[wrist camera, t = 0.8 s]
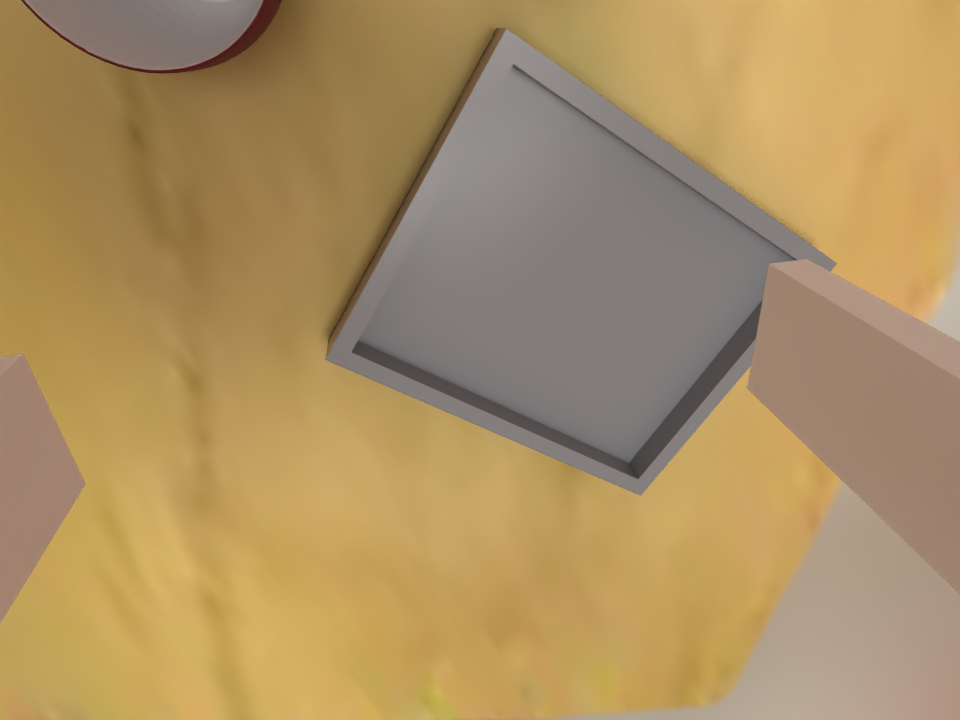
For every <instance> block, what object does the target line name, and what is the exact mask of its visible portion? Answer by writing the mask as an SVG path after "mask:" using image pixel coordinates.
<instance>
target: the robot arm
mask: <svg viewBox="0 0 960 720" xmlns="http://www.w3.org/2000/svg"><path fill="white" fill-rule="evenodd" d="M747 389H748V390H749V391H750V392H751V393H752V394H753V395H754V396H755V397H756V398H757V399H759V400H760V401H761V402H762V403H763V404H764V405H765V406H766V407H767V408H768V409H769V410H770V411H771V412H772V413H773V414H774V415H775V416H776V417H777V418H778V419H779V420H780V421H781V422H782V423H783V424H784V425H785V426H786V427H787V428H788V429H790V430H791V431H792V432H793V433H794V434H795V435H796V436H797V437H798V438H799V439H800V440H801V441H802V442H803V443H804V444H805V445H806V446H807V447H808V448H809V449H810V450H811V451H812V452H813V453H814V454H815V455H816V456H817V457H818V458H819V459H821V460H822V461H823V462H824V463H825V464H826V465H827V466H828V467H829V468H830V469H831V470H832V471H833V472H834V473H835V474H836V475H837V476H838V477H839V478H840V479H841V480H842V481H843V482H844V483H845V484H846V485H847V486H849V487H850V488H851V489H852V490H853V491H854V492H855V493H856V494H857V495H858V496H859V497H860V498H861V499H862V500H863V501H864V502H865V503H866V504H867V505H868V506H869V507H870V508H871V509H872V510H873V511H874V512H875V513H876V514H877V515H878V516H879V517H881V519H883V520H884V521H885V522H886V523H887V524H888V525H889V526H890V527H891V528H892V529H893V530H894V531H895V532H896V533H897V534H898V535H899V536H900V537H901V538H902V539H903V540H904V541H905V542H906V543H907V544H908V545H909V546H910V547H911V548H913V549H914V550H915V551H916V552H917V553H918V554H919V555H920V556H921V557H922V558H923V559H924V560H925V561H926V562H927V563H928V564H929V565H930V566H931V567H932V568H933V569H934V570H935V571H936V572H937V573H938V574H939V575H940V576H941V577H942V578H943V579H945V580H946V581H947V582H948V583H949V584H950V585H951V586H952V587H953V588H954V589H955V590H956V591H957V592H958V593H959V594H960V342H959V341H957V340H955V339H954V338H952V337H950V336H948V335H946V334H944V333H942V332H941V331H939V330H937V329H935V328H933V327H931V326H930V325H928V324H926V323H924V322H922V321H920V320H919V319H917V318H915V317H913V316H911V315H909V314H907V313H906V312H904V311H902V310H900V309H898V308H896V307H894V306H893V305H891V304H889V303H887V302H885V301H883V300H882V299H880V298H878V297H876V296H874V295H872V294H870V293H869V292H867V291H865V290H863V289H861V288H859V287H858V286H856V285H854V284H852V283H850V282H848V281H846V280H845V279H843V278H841V277H839V276H837V275H835V274H834V273H832V272H830V271H828V270H826V269H824V268H822V267H821V266H819V265H817V264H815V263H813V262H811V261H809V260H808V259H804V260H795V261H787V262H779V263H771V264H769V266H768V272H767V278H766V283H765V289H764V295H763V301H762V306H761V312H760V318H759V324H758V329H757V335H756V341H755V347H754V352H753V358H752V364H751V370H750V375H749V381H748V387H747ZM85 484H86V483H85V481H84V479H83V477H82V475H81V473H80V471H79V469H78V467H77V465H76V463H75V461H74V458H73V456H72V454H71V452H70V450H69V448H68V446H67V444H66V442H65V440H64V438H63V436H62V433H61V431H60V429H59V427H58V425H57V423H56V421H55V419H54V417H53V415H52V413H51V411H50V409H49V406H48V404H47V402H46V400H45V398H44V396H43V394H42V392H41V390H40V388H39V386H38V384H37V381H36V379H35V377H34V375H33V373H32V371H31V369H30V367H29V365H28V363H27V361H26V359H25V357H24V354H21V355H13V356H4V357H0V623H1V622H2V620H3V618H4V617H5V615H6V613H7V612H8V610H9V608H10V607H11V605H12V604H13V602H14V600H15V599H16V597H17V595H18V594H19V592H20V590H21V589H22V587H23V586H24V584H25V582H26V581H27V579H28V577H29V576H30V574H31V572H32V571H33V569H34V567H35V566H36V564H37V563H38V561H39V559H40V558H41V556H42V554H43V553H44V551H45V549H46V548H47V546H48V545H49V543H50V541H51V540H52V538H53V536H54V535H55V533H56V531H57V530H58V528H59V527H60V525H61V523H62V522H63V520H64V518H65V517H66V515H67V513H68V512H69V510H70V509H71V507H72V505H73V504H74V502H75V500H76V499H77V497H78V495H79V494H80V492H81V491H82V489H83V487H84V486H85Z"/></svg>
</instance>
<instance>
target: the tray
mask: <svg viewBox="0 0 960 720" xmlns="http://www.w3.org/2000/svg"><path fill="white" fill-rule="evenodd" d="M804 259H808V260H809V261H811V262H813V263H815V264H817V265H819V266H821V267H822V268H824V269H826V270H828V271H831V270H832V269H833V268H834V267H835V265H836V264H837V263H836V262H834V261H833V260H832V259H830V258H829V257H827V256H826V255H825V254H823V253H822V252H820V251H819V250H817V249H816V248H815V247H813V246H812V245H810V244H809V243H808V242H806V241H805V240H803V239H802V238H801V237H799V236H798V235H796V234H795V233H794V232H792V231H791V230H789V229H788V228H787V227H785V226H784V225H782V224H781V223H780V222H778V221H777V220H775V219H774V218H772V217H771V216H770V215H768V214H767V213H765V212H764V211H763V210H761V209H760V208H758V207H757V206H756V205H754V204H753V203H751V202H750V201H749V200H747V199H746V198H744V197H743V196H742V195H740V194H739V193H737V192H736V191H734V190H733V189H732V188H730V187H729V186H727V185H726V184H725V183H723V182H722V181H720V180H719V179H718V178H716V177H715V176H713V175H712V174H711V173H709V172H708V171H706V170H705V169H704V168H702V167H701V166H699V165H698V164H697V163H695V162H694V161H692V160H691V159H689V158H688V157H687V156H685V155H684V154H682V153H681V152H680V151H678V150H677V149H675V148H674V147H673V146H671V145H670V144H668V143H667V142H666V141H664V140H663V139H661V138H660V137H659V136H657V135H656V134H654V133H653V132H652V131H650V130H649V129H647V128H646V127H644V126H643V125H642V124H640V123H639V122H637V121H636V120H635V119H633V118H632V117H630V116H629V115H628V114H626V113H625V112H623V111H622V110H621V109H619V108H618V107H616V106H615V105H614V104H612V103H611V102H609V101H608V100H606V99H605V98H604V97H602V96H601V95H599V94H598V93H597V92H595V91H594V90H592V89H591V88H590V87H588V86H587V85H585V84H584V83H583V82H581V81H580V80H578V79H577V78H576V77H574V76H573V75H571V74H570V73H569V72H567V71H566V70H564V69H563V68H561V67H560V66H559V65H557V64H556V63H554V62H553V61H552V60H550V59H549V58H547V57H546V56H545V55H543V54H542V53H540V52H539V51H538V50H536V49H535V48H533V47H532V46H531V45H529V44H528V43H526V42H525V41H524V40H522V39H521V38H519V37H518V36H516V35H515V34H514V33H512V32H511V31H509V30H508V29H507V28H497V29H496V31H495V33H494V35H493V37H492V39H491V41H490V42H489V44H488V46H487V48H486V50H485V52H484V53H483V55H482V57H481V59H480V61H479V63H478V65H477V66H476V68H475V70H474V72H473V74H472V76H471V77H470V79H469V81H468V83H467V85H466V87H465V89H464V90H463V92H462V94H461V96H460V98H459V100H458V101H457V103H456V105H455V107H454V109H453V111H452V113H451V114H450V116H449V118H448V120H447V122H446V124H445V125H444V127H443V129H442V131H441V133H440V135H439V136H438V138H437V140H436V142H435V144H434V146H433V148H432V149H431V151H430V153H429V155H428V157H427V159H426V160H425V162H424V164H423V166H422V168H421V170H420V172H419V173H418V175H417V177H416V179H415V181H414V183H413V184H412V186H411V188H410V190H409V192H408V194H407V196H406V197H405V199H404V201H403V203H402V205H401V207H400V208H399V210H398V212H397V214H396V216H395V218H394V220H393V221H392V223H391V225H390V227H389V229H388V231H387V232H386V234H385V236H384V238H383V240H382V242H381V244H380V245H379V247H378V249H377V251H376V253H375V255H374V256H373V258H372V260H371V262H370V264H369V266H368V268H367V269H366V271H365V273H364V275H363V277H362V279H361V280H360V282H359V284H358V286H357V288H356V290H355V291H354V293H353V295H352V297H351V299H350V301H349V303H348V304H347V306H346V308H345V310H344V312H343V314H342V315H341V317H340V319H339V321H338V323H337V325H336V327H335V328H334V330H333V332H332V334H331V336H330V338H329V341H328V347H327V353H326V359H325V360H327V361H330V362H332V363H334V364H337V365H339V366H341V367H344V368H346V369H348V370H351V371H353V372H355V373H358V374H360V375H362V376H365V377H367V378H369V379H371V380H374V381H376V382H378V383H381V384H383V385H385V386H388V387H390V388H392V389H395V390H397V391H399V392H402V393H404V394H406V395H409V396H411V397H413V398H415V399H418V400H420V401H422V402H425V403H427V404H429V405H432V406H434V407H436V408H439V409H441V410H443V411H446V412H448V413H450V414H453V415H455V416H457V417H459V418H462V419H464V420H466V421H469V422H471V423H473V424H476V425H478V426H480V427H483V428H485V429H487V430H490V431H492V432H494V433H497V434H499V435H501V436H504V437H506V438H508V439H510V440H513V441H515V442H517V443H520V444H522V445H524V446H527V447H529V448H531V449H534V450H536V451H538V452H541V453H543V454H545V455H548V456H550V457H552V458H554V459H557V460H559V461H561V462H564V463H566V464H568V465H571V466H573V467H575V468H578V469H580V470H582V471H585V472H587V473H589V474H592V475H594V476H596V477H598V478H601V479H603V480H605V481H608V482H610V483H612V484H615V485H617V486H619V487H622V488H624V489H626V490H629V491H631V492H633V493H636V494H638V495H640V496H641V495H642V494H643V492H644V491H645V490H646V489H647V488H648V486H649V485H650V484H651V483H652V482H653V481H654V479H655V478H656V477H657V476H658V475H659V473H660V472H661V471H662V470H663V469H664V468H665V466H666V465H667V464H668V463H669V462H670V460H671V459H672V458H673V457H674V456H675V455H676V453H677V452H678V451H679V450H680V449H681V447H682V446H683V445H684V444H685V443H686V442H687V440H688V439H689V438H690V437H691V436H692V434H693V433H694V432H695V431H696V430H697V429H698V427H699V426H700V425H701V424H702V423H703V421H704V420H705V419H706V418H707V417H708V416H709V414H710V413H711V412H712V411H713V410H714V408H715V407H716V406H717V405H718V404H719V403H720V401H721V400H722V399H723V398H724V397H725V395H726V394H727V393H728V392H729V391H730V390H731V388H732V387H733V386H734V385H735V384H736V382H737V381H738V380H739V379H740V378H741V377H742V375H743V374H744V373H745V372H746V371H747V369H748V368H749V367H750V366H751V364H752V358H753V352H754V347H755V341H756V335H757V329H758V324H759V318H760V312H761V306H762V301H763V295H764V289H765V283H766V278H767V272H768V266H769V264H771V263H779V262H787V261H795V260H804Z"/></svg>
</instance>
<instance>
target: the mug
mask: <svg viewBox="0 0 960 720" xmlns="http://www.w3.org/2000/svg"><path fill="white" fill-rule="evenodd" d="M21 1H22V2H23V3H24V4H25V5H26V6H27V7H28V8H29V9H30V10H31V11H32V12H33V13H34V15H35V16H36V17H38V18H39V19H40V20H41V21H42V22H43V23H44V24H45V25H46V26H48V27H49V28H50V29H51V30H52V31H54V32H55V33H56V34H58V35H59V36H60V37H61V38H63V39H64V40H66V41H67V42H69V43H70V44H72V45H73V46H75V47H77V48H78V49H80V50H82V51H84V52H86V53H87V54H89V55H91V56H93V57H96V58H98V59H100V60H102V61H105V62H107V63H110V64H113V65H116V66H119V67H123V68H126V69H130V70H135V71H141V72H147V73H179V72H187V71H194V70H200V69H204V68H208V67H212V66H215V65H218V64H220V63H223V62H225V61H227V60H229V59H231V58H233V57H235V56H237V55H239V54H240V53H241V52H243V51H244V50H246V49H247V48H248V47H250V46H251V45H252V44H253V43H254V42H255V41H256V40H257V39H258V38H259V37H260V36H261V35H262V34H263V32H264V31H265V30H266V28H267V27H268V26H269V24H270V23H271V21H272V19H273V18H274V16H275V14H276V12H277V10H278V8H279V5H280V3H281V1H282V0H21Z"/></svg>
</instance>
